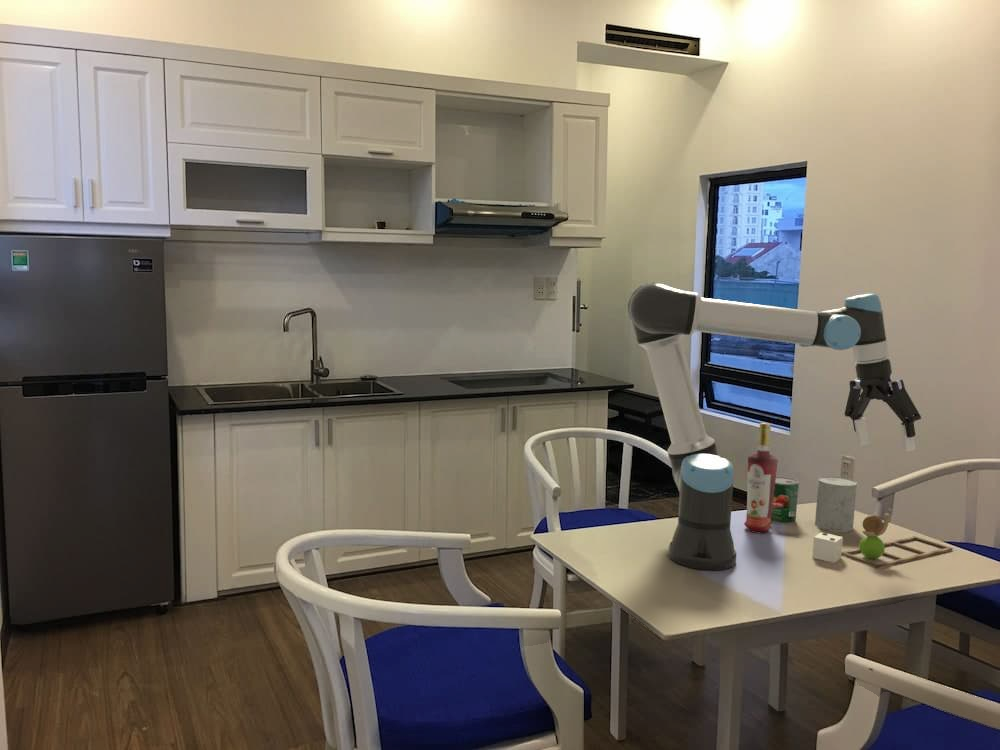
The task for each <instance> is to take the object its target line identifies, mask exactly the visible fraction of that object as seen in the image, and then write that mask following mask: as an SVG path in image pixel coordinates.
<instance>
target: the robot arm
mask: <svg viewBox="0 0 1000 750" xmlns="http://www.w3.org/2000/svg"><path fill="white" fill-rule="evenodd" d="M627 303H628V304H627V313H628V316H629V319H630V320H631V323H632V326H633V330H634V334H635V338H636V341H637V344H638V346H640V347H641V348H643V349H644V350H645V351H646V354H647V358H648V362H649V364H650V368H651V373H652V376H653V380H654V384H655V387H656V392H657V395H658V398H659V402H660V406H661V410H662V412H663V418H664V421H665V424H666V428H667V431H668V432H667V433H668V434H669V435H668V436H669V439H670V442H671V443H670V446H669V447H668V449H667V455H668V459H669V463H670V466H671V470H672V477H673V481H674V484H675V485H676V487H677V489H678V492H679V498H678V517H677V526H676V528H675V531H674V533H673V536H672V540H671V541H670V542H669V544H668V555H667V556H668V558H669V559H670V560H671V561H673V562H674V563H676V564H678V565H680V566H683V567H686V568H691V569H696V570H702V571H703V570H704V571H721V570H727V569H730V568H732V567H734V566H735V565H736V563H737V550H736V548H735V547H734V539H733V536H732V531H731V520H732V507H733V493H734V492H733V490H734V482H735V474H734V472H735V471H734V470H735V469H734V465H733V463H732V462H731V461H730V460H729V459H727V458H724V457H722V456H720V455H719V452H718V449H717V444H716V440H715V439H714V438H713V437H711V436H709V435H708V434H707V432H706V428H705V424H704V421H703V416H702V413H701V409H700V406H699V402H698V397H697V395H696V391H695V388H694V387H695V386H694V384H693V379H692V375H691V372H690V369H689V365H688V361H687V357H686V353H685V349H684V346H683V342H682V339H683V338H684V336H685V335H686V336H691V335H693V334H694V333H697V332H698V333H707V334H716V335H717V334H718V335H724V336H731V337H741V338H748V339H758V340H764V341H765V340H766V341H774V342H781V343H791V344H796V345H797V344H798V345H799V346H800V347H802V348H806V347H821V348H830V349H833V350H834V351H835V350H836V351H844V350H849V349H851V348H852V354H853V355H852V356H853V360H854V361H855V362H856V363H855V364H854V365H855V366H854V367H855V372H856V377H857V378H855V379H852V380H850V381H849V393H848V398H847V401H846V405H845V410H844V416H845V417H846V418H847V417H848V418H850V419H851V420H852V425H853V430H854V432H855V433H856V439H857V445H858V447H864V446H867V445H868V444H869V445H870V440H869V434H868V428H867V422H866V417H864V413H865V411H866V410H867V408H868V406H869V404H870V403H871V400H876V401H877V400H879V401H880V400H881V401H882V402H883V403H886V404H887V405H888V407H889V408H890V410H892V412H893V413H894V414H895V415H896V416H897V418H898V419H899V420H900V421H901V423H900V424H899V426H900V427H899V428H900V432H901V434H900V435H901V440H902V444H903V445H902V446H903V452H904V453H909V452H912V451H915V450H916V444H915V443H916V442H915V437H916V430H915V429H916V428H915V422H917V421H919V420H921V419H922V415H921V414H920V413H919V411H918V409H917V408H916V406H915V403H914V402H913V400H912V398H911V397H910V395H909V393H908V392H907V390H906V387H905V382H904V380H903V379H898V380H893V381H892V378H891V375H892V373H893V372H892V366H891V365H892V364H891V360H890V359H889V358H888V357H889V356H890V354H889V347H888V340H887V337H886V336H887V335H886V329H885V321H884V320H885V319H884V312H883V307H882V304H881V299H880V297H879V295H878V294H876V293H865V294H859V295H854V296H849V297H846V298H845V300H844V306H842V307H840V308H835V309H830V310H824V311H813V310H805V309H799V308H788V307H782V306H781V307H779V306H774V305H763V304H756V303H755V304H754V303H748V302H739V301H733V300H732V301H731V300H724V299H715V298H705V297H701V296H700V295H699V293H698V292H695V291H686V290H681V289H679V288H678V289H677V288H674V287H671V286H669V285H666V284H663V283H659V282H650V283H645V284H642V285H640V286H639V287H637V288H636V289H635V290H634V291H633V293H631V295H630V298H629V300H628V302H627Z"/></svg>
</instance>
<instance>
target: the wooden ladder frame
mask: <svg viewBox="0 0 1000 750" xmlns="http://www.w3.org/2000/svg"><path fill="white" fill-rule="evenodd" d="M911 541H917V542H921V543H923V544H924V543H925V544H927V545H931V546H933V547H936V548H939V549H935V550H932V551H928V552H926V551H923V550H920V549H917V548H915V547H911V546H907V545H904V544H903V543H907V542H911ZM883 543H884V546H885V547H889V546H895V547H897V548H900V549H904V550H907V551H910V552H913V553H917V554H915V555H910V556H906V557H900V556H898V555H894V554H891V553H888V552H886V551H884V553H883V554H882V556H885V557H887V558H890V559H893V560H890V561H887V562H886V561H885V562H882V563H875V562H873V561H871V560H867V559H865V558H861V557H859V556H856V555H854V554H857V553H861V551H860V548H854V549H850V550H845V551H842V555H841V556H844V557H845V558H849V559H852V560H855V561H858V562H860V563H863V564H866V565H868V566H871V567H873V568H877V569H881V568H887V567H890V566H893V565H894V564H895V565H899V564H903V563H906V561H907V562H910V561H911V562H912V561H914V560H915V561H916V560H919V559H922V558H928V557H930V556H931V557H932V556H937V555H939V554H940V555H941V554H943V553H947V552H953V550H954V549H953V547H950V546H947V545H944V544H940V543H938V542H934V541H930V540H928V539H924V538H921V537H919V536H916V535H915V536H909V537H904V538H900V539H896V540H891V541H886V542H883ZM902 562H903V563H902ZM898 563H899V564H898Z"/></svg>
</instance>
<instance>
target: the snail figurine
mask: <svg viewBox="0 0 1000 750" xmlns="http://www.w3.org/2000/svg"><path fill="white" fill-rule="evenodd" d="M887 511H888V512H889V513H885V514H884V519H883V520H882V519H881V517H880V516H878V515H875V514H869V515H868V516H866V517H865V518H864V519H863V521H862V528H863V529H864V530H862V532H861V533H863V535H865V536H864V537H862V538H861V540H860V541H859V544H858V546H859V548H860V551H861V552H860V553H861V554H862V556H864V557H865V558H867V559H870V560H876V559H879V558H881V557H882V556H883V555H882V554H883V553H884V552H885V551H886V550H885V549H886V546H884V543H885V542H884V541H883V540H882V538H879V536H881V535H883V534H885V533H886V531H887V529H888V526H889V522H890V520H891V518H892V516H891V513H892V509H891V508H888V509H887Z"/></svg>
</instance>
